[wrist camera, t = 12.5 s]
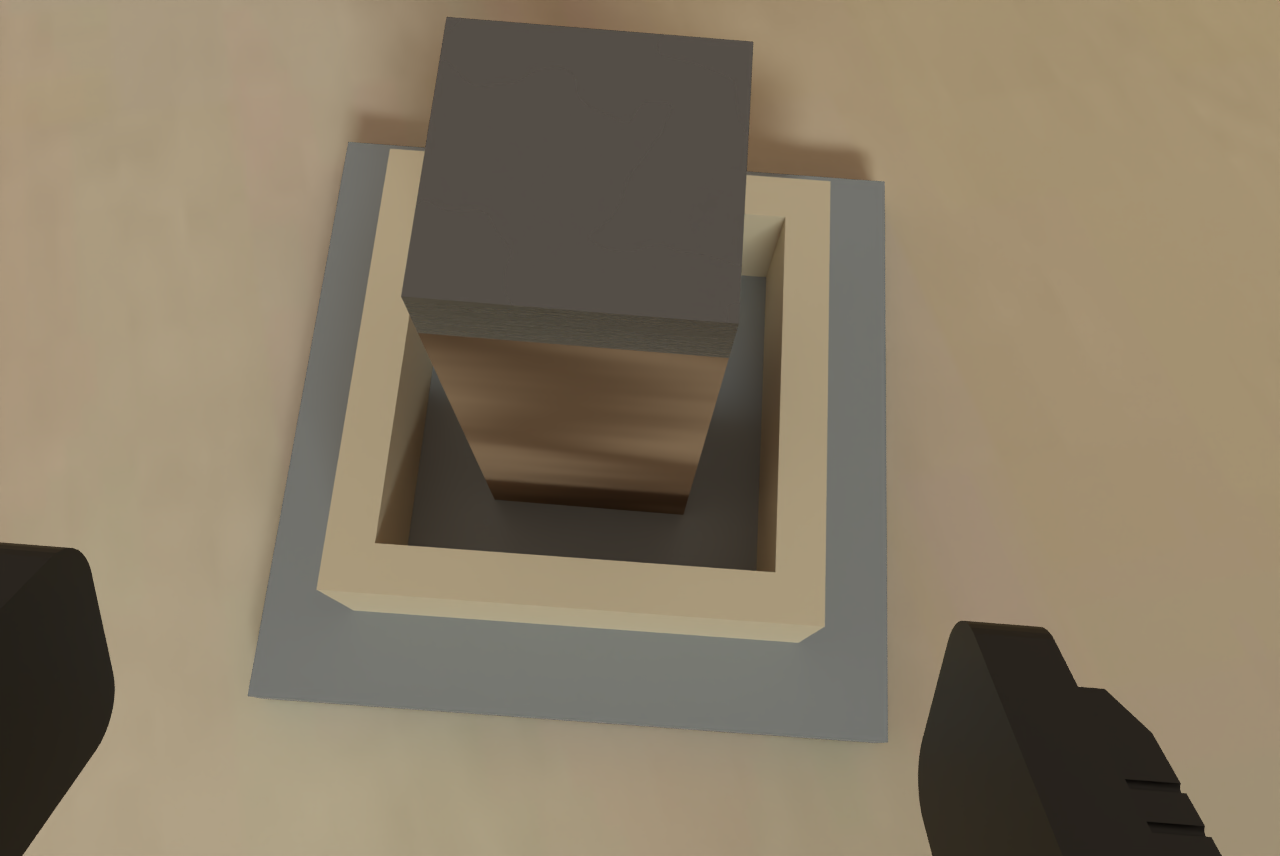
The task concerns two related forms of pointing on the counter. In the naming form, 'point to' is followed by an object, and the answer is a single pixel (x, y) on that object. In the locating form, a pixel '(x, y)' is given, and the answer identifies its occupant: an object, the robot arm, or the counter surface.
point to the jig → (596, 537)
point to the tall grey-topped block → (582, 254)
